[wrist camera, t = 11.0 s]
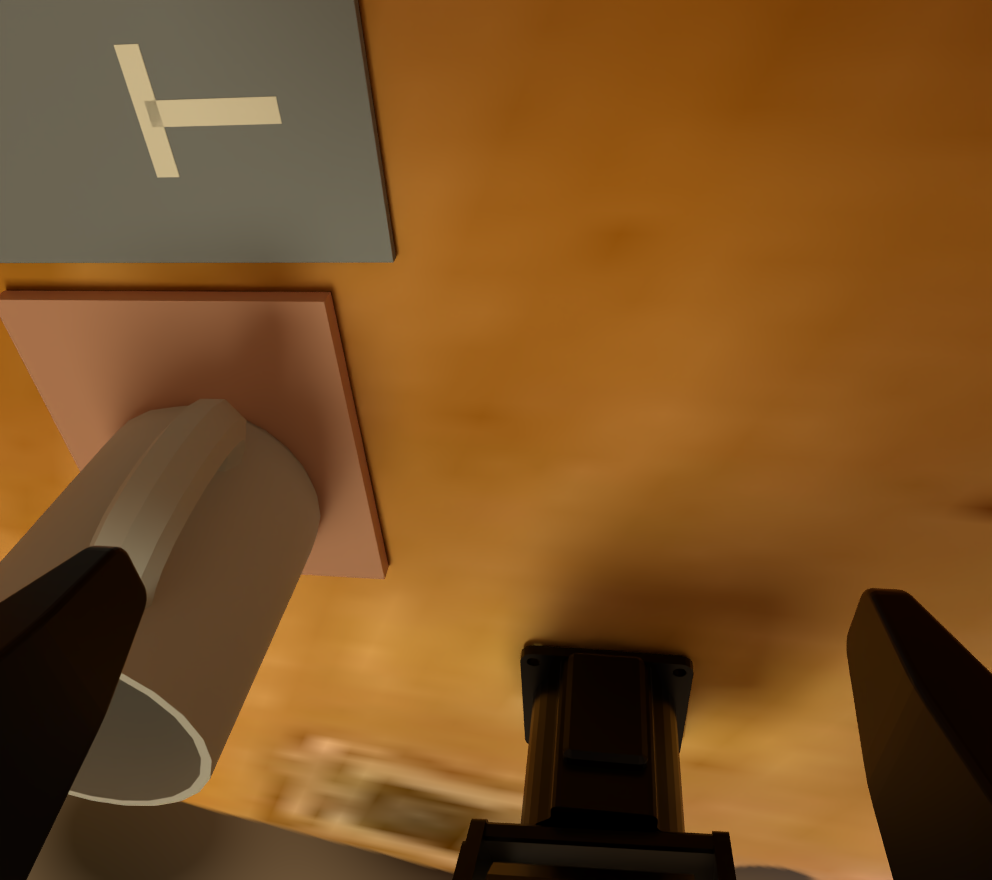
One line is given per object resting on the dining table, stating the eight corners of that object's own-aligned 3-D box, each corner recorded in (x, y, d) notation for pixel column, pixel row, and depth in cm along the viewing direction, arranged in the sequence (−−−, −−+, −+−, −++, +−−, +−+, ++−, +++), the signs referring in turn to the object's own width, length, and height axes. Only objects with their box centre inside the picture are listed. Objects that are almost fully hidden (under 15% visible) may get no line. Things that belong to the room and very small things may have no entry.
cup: (104, 514, 26) (-80, 747, 19) (135, 285, 20) (-116, 503, 13) (296, 587, 28) (188, 832, 21) (379, 390, 22) (265, 642, 15)
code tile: (396, 257, 20) (392, 262, 19) (-74, 258, 21) (-82, 263, 21) (295, -423, 12) (288, -429, 12) (-400, -331, 14) (-418, -335, 14)
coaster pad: (388, 566, 27) (384, 579, 27) (136, 552, 28) (128, 564, 28) (330, 291, 20) (324, 301, 20) (4, 290, 22) (-9, 299, 21)
